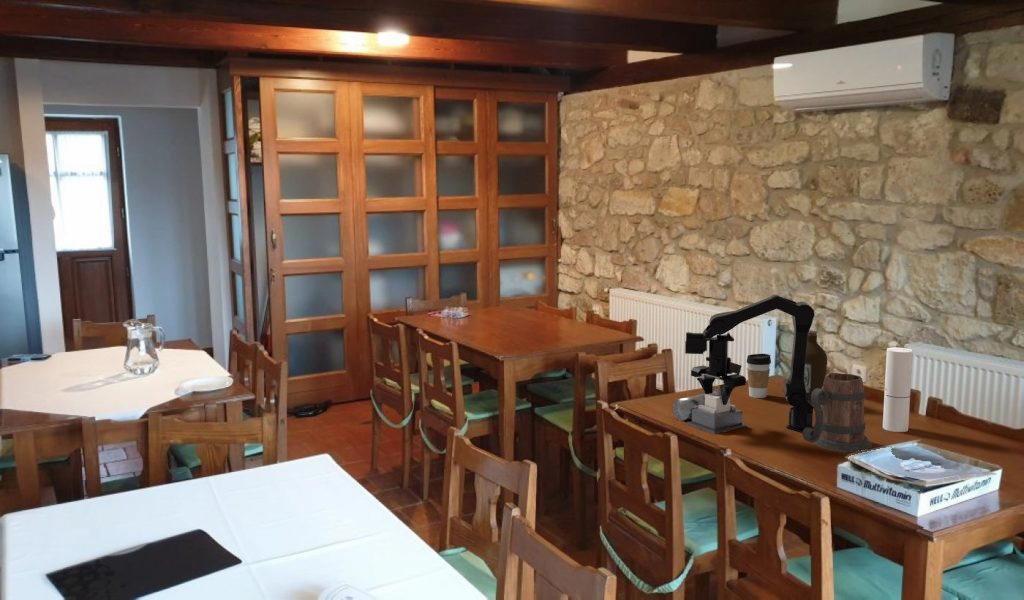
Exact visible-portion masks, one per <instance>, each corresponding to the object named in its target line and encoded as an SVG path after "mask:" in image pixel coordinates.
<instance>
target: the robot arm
mask: <svg viewBox="0 0 1024 600" xmlns="http://www.w3.org/2000/svg"><path fill="white" fill-rule="evenodd" d="M775 310H778V311H781V312H784V313H785V314H786V315H787V314H788V315H789V316H791V318H792V319H791V320H792V325H793V341H792V351H791V352H792V353H791V362H790V363H791V364H790V374H789V376H788V379H786V378H785V379H783V388H782V390H781V391H782V393H783V396H784V397H785V400H786V402H787V403H788V404H789V405H790V406H792V407H790V408H789V412H788V424H787V425H786V426H785V427H786V429H790V430H793V431H795V432H799V433H803V430H804V429H805V428H806V427H809V428H812V429H814V427H815V426H814V425H813V423H814V422H813V421H814V407H813V405H812V404H811V402H810V400H809V399H808V398H807V397H806V388H805V382H804V371H805V360H806V349H807V338H808V332H809V331H811V327H812V325H813V321H814V319H815V310H814V308H813V307H812V306H811V305H810V304H808V303H807V302H805V301H798V302H797V301H794V300H792V299H790V298H789V299H788V298H786V297H783V296H781V295H779V294H773V295H771V296H769V297H766V298H764V299H762V300H759V301H756V302H754V303H752V304H749V305H746V306H743V307H741V308H739V309H736V310H732V311H724V312H720V313H715V314H713V315H711V317H710V318H709V321H708V325H707V326H706V327H705V328H704V330H703V331H702V332H690V331H686V332H685V341H684V346H685V347H684V353H685V355H687V354H688V355H692V354H693V355H694V354H695V355H704V353H706V352H707V351H708V356H707V357H705V361H707V362H708V366H707V365H698V366H693V367H692V368H691V370H690V376H691V377H694V378H696V381H698V383H699V384H700V386H701V387H702V389H703V392H704V394H710V393H713V389H714V388H713V387H714V382H715V381H716V380H720V381H723V384H720V385H719V389H720V391H721V397H722V402H723V405H726V404H727V402H728V399H729V397H730V398H731V394H732V392H733V390H734V389H735V388H738V387H742V386H743V387H744V386H746V385H747V378H746V377H745V376H744V375H742V374H741V375H740V373H741V370H742V367H743V366H742V365H741V364H739V363H735V362H732V359H731V357H729V356H728V350H729V349H728V347H729V342H734V341H735V338H734V336H732V335H731V333H730V332H729V331H732V330H733V329H734V328H735V327H737V326H738V325H740V324H741V323H744V322H747V321H749V320H752V319H755V318H756V317H759V316H761V315H764V314H767V313H770V312H773V311H775Z"/></svg>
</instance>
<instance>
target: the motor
mask: <svg viewBox="0 0 1024 600" xmlns="http://www.w3.org/2000/svg"><path fill="white" fill-rule="evenodd" d="M672 411H673V415H674V417H675V418H676V419H677V420H679V421H681V422H682V421H687V420H688V421H687V423H686V424H687V425H689V426H691V427H694V428H696V429H699V430H702V431H704V432H706V433H707V432H708V433H710V434H713V435H716V434H719V433H720V434H721V433H724V432H729V431H734V430H738V429H741V428H745V427H748V426H747V425H748V423H746V422H743V410H741V409H737V405H735V404H731V403H730V411H725V412H721V413H717V410H715V409H712V408H709V407H706V406H705V393H702V394H697V395H692V396H688V397H687V396H686V397H683V398H677V399H675V400H674V401H673V404H672ZM689 420H690V421H689Z"/></svg>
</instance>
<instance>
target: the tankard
mask: <svg viewBox="0 0 1024 600" xmlns="http://www.w3.org/2000/svg"><path fill="white" fill-rule="evenodd" d="M865 398H866V390H865V388H864V381H863V378H862V377H861V376H859V375H857V374H856V375H855V374H852V373H840V372H839V373H838V372H829V373H826V376H825V379H824V384H823V387H822V389H819V388H816V389H814V390H813V392H812V395H811V400H812V404H813V407H814V409H813V411H814V414H815V421H814V426H813V427H814V429H812V428H809V427H806V428H805V429H804V430H803V432H802V437H803V439H804V441H805V442H809V443H812V444H813V445H814V446H817V447H819V448H823V449H825V450H830V451H837V452H843V453H844V452H845V453H851V452H852V453H856V452H855V451H858V450H859V451H858V452H862V451H861V450H865V449H867V448H870V449H871V448H872V447H871V444H872V443H871V442H870V441H869V438H868V436H866V435H865V430H866V422H865ZM865 451H866V450H865Z"/></svg>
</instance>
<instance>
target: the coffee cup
mask: <svg viewBox="0 0 1024 600" xmlns="http://www.w3.org/2000/svg"><path fill="white" fill-rule="evenodd" d="M746 363H747V368H746V369H747V379H748V380H747V381H748V395H749V397H751V398H755V399H765V398H766V397H767V395H768V385H769V377H770V370H771V369H770V367H771V364H772V359H771V354H769V353H752V354H749V355H747V358H746Z"/></svg>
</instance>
